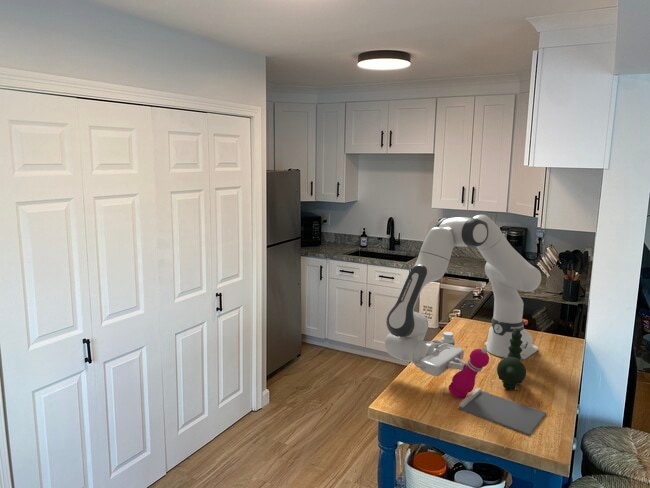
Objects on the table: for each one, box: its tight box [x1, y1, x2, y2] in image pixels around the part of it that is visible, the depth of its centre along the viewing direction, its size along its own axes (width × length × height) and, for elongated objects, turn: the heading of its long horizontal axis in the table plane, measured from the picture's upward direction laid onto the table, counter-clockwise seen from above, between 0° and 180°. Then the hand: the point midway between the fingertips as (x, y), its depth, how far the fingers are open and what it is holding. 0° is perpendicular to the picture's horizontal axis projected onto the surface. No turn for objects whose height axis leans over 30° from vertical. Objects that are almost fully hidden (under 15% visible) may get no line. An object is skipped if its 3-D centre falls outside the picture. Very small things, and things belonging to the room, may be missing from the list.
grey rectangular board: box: [457, 390, 547, 437], centre depth 151 cm, size 22×16×1 cm
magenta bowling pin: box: [448, 347, 490, 400], centre depth 156 cm, size 7×7×20 cm
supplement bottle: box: [440, 331, 456, 346], centre depth 192 cm, size 5×5×10 cm
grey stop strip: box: [459, 387, 482, 407], centre depth 157 cm, size 1×14×2 cm, turn 140°
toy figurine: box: [496, 328, 527, 391], centre depth 170 cm, size 9×19×25 cm
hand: (464, 366), depth 157 cm, fingers closed, pressing on magenta bowling pin
